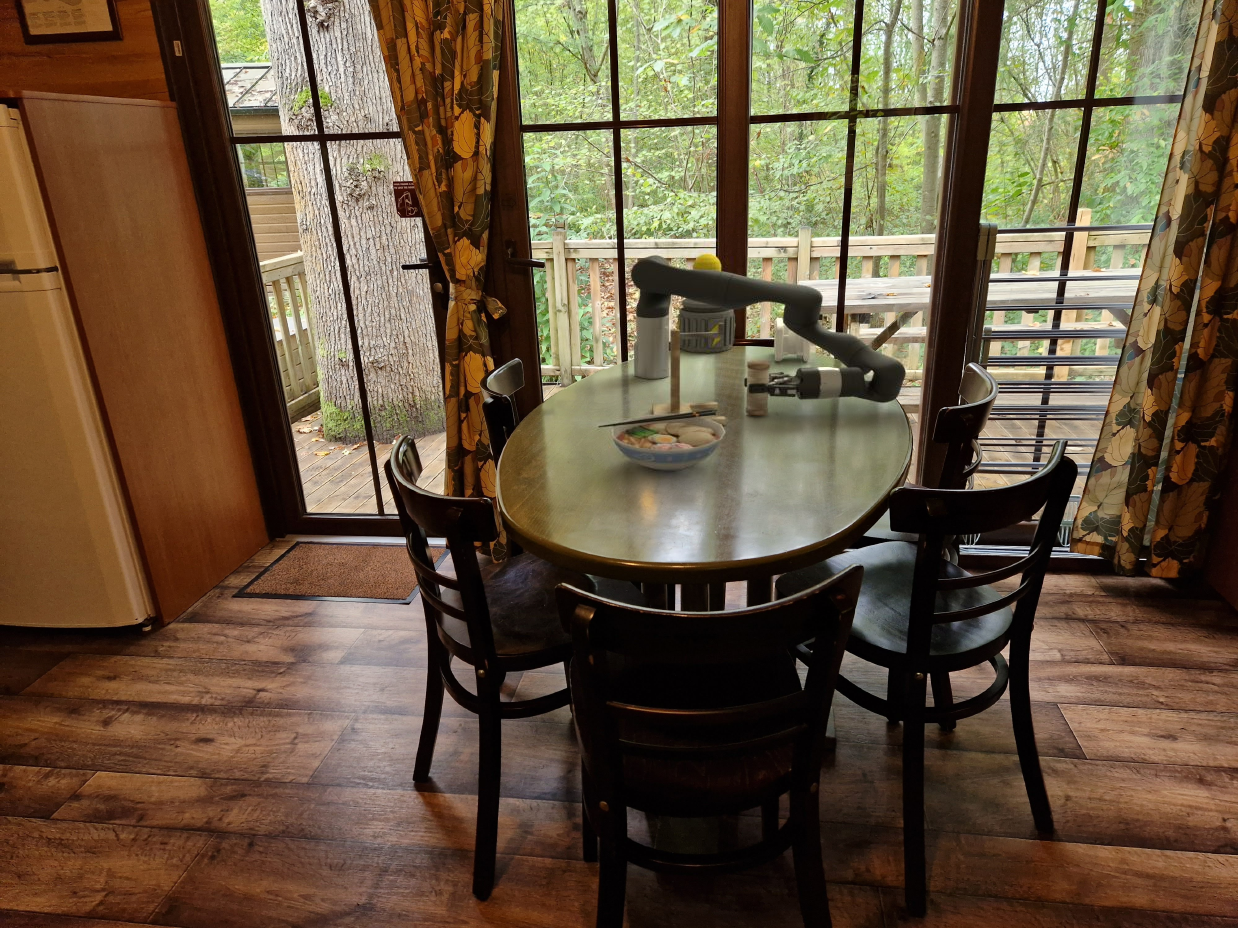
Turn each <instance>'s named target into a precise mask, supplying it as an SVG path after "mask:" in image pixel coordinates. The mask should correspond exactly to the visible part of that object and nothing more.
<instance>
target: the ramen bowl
mask: <svg viewBox="0 0 1238 928" xmlns="http://www.w3.org/2000/svg"><path fill="white" fill-rule="evenodd" d="M716 413H717V412H716V411H714V410H712V409H709V410H703V411H692V412H689V413H683V414H655V415H653V414H647V415H642V416H636V417H631V418H628V419H625V420H622V421H620V422H615V423H610V424H603V425H602V424H601V425H598V429H599V428H607V427H609V428H610V427H612V428H611V429H610V434H611V439H612V440H613V442H614V444H615V446H616V447H617V448H618V450H619V451H620V452H621V453H622V454H623V456H625V457H626V458H628V459H629V460H631V461H632V462H634V463H636V464H638V465H639V466H642V467H646V468H650V469H652V470H654V471H658V472H664V473H665V472H667V473H668V472H676V471H681V470H683V469H686V468H689V467H693V466H695V465H698V464H699V463H701V462H704V461H705V460H707V459H708V458H709V457H710V456H711V455H713V453H714V452H715V451H716V449H717V448H718V446H719V444H720V443H721V441H722V440H723V438H724V436H725V434H726V430H725V429H724V427H723V425H721V424H719V423H716V422H714V421H712V420H710V419H706V418H702V417H714V416H716V415H717V414H716Z"/></svg>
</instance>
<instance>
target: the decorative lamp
mask: <svg viewBox="0 0 1238 928" xmlns="http://www.w3.org/2000/svg"><path fill="white" fill-rule="evenodd" d="M692 269H696V270H716V271H722V264H721V261H720V259H719V258H718V257H717V256H716V255H714V254H712V253H703V254H701V255H699V256H697V258H696V259H695V260H694V261H693V265H692ZM681 302H682V303H681V305H682V307H680V309H679V310H678V315H677V325H676V326H675V327H676V328H675V329H679V330H680V333H697V332H718V323H723V338H705V339H680V350H682V351H685V352H688V353H697V354H698V353H699V354H711V353H713V354H714V353H723V352H726V351H729V350H731V349H732V348H733V344H734V343H735V329H736V325H737V324H736V323H735V322H736V321H735V320H736V318H735V317H736V315H735V313H734V310H732V309H726V308H721V307H717V306H712V305H709V304H705V303H701V302H697V301H694V300H690V299H687V298H683V299H682V301H681Z"/></svg>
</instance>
